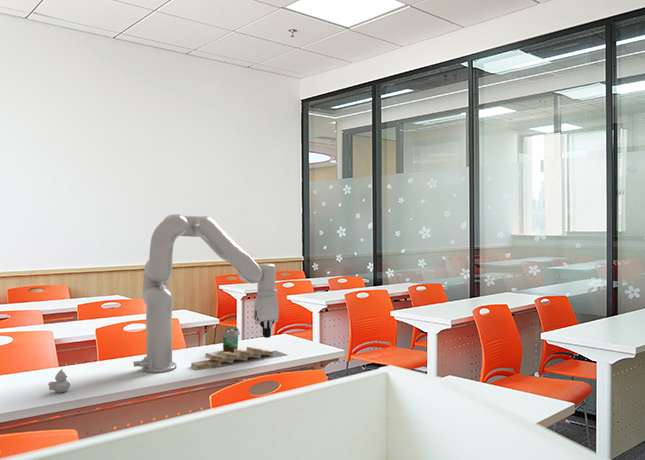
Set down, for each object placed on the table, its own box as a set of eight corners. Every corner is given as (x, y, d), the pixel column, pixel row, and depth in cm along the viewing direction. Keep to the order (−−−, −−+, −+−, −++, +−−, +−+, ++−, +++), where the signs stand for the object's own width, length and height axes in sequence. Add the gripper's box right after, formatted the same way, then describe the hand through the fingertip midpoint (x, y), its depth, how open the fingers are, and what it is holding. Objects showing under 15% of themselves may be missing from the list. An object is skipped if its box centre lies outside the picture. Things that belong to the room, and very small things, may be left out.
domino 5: (272, 356, 227) (252, 353, 222) (266, 353, 231) (246, 350, 226) (273, 352, 228) (253, 349, 222) (267, 349, 232) (247, 346, 226)
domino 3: (246, 360, 220) (225, 357, 214) (240, 358, 224) (219, 355, 218) (247, 356, 220) (226, 353, 214) (241, 354, 224) (220, 351, 218)
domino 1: (220, 365, 213) (196, 369, 207) (214, 362, 217) (191, 367, 211) (220, 361, 213) (196, 365, 207) (214, 358, 217) (191, 362, 211)
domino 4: (260, 358, 224) (239, 355, 218) (254, 355, 228) (233, 353, 222) (261, 354, 224) (240, 351, 218) (255, 352, 228) (234, 349, 222)
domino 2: (232, 363, 216) (210, 359, 210) (226, 360, 220) (204, 357, 214) (233, 359, 217) (211, 355, 211) (227, 356, 221) (206, 353, 215)
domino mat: (213, 369, 209) (213, 368, 209) (202, 364, 217) (202, 362, 217) (288, 355, 229) (288, 354, 229) (275, 351, 237) (275, 350, 237)
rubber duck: (71, 392, 181) (71, 368, 181) (49, 396, 177) (49, 371, 177) (68, 388, 186) (68, 365, 185) (47, 392, 182) (46, 368, 182)
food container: (237, 356, 228) (237, 332, 228) (222, 356, 229) (222, 332, 228) (242, 349, 241) (242, 326, 241) (228, 349, 241) (228, 326, 241)
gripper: (276, 290, 236) (277, 333, 236) (246, 293, 227) (246, 337, 227) (286, 292, 230) (286, 336, 230) (255, 295, 221) (255, 341, 221)
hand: (266, 337), depth 228 cm, fingers closed
